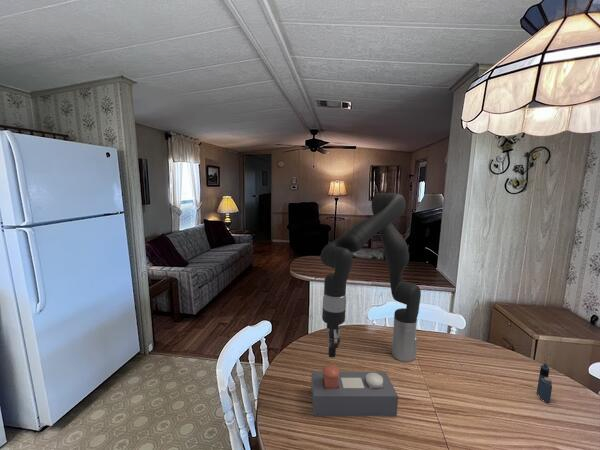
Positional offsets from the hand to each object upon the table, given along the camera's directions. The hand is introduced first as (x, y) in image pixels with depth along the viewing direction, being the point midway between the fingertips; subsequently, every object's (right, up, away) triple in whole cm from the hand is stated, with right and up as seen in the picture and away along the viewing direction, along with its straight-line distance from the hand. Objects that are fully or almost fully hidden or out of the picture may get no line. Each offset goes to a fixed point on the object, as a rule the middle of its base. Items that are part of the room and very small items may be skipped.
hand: (331, 355), depth 93 cm
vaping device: (+76, -18, +7) cm, 79 cm away
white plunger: (+15, -16, +3) cm, 22 cm away
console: (+7, -17, +3) cm, 19 cm away
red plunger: (0, -12, +2) cm, 13 cm away
